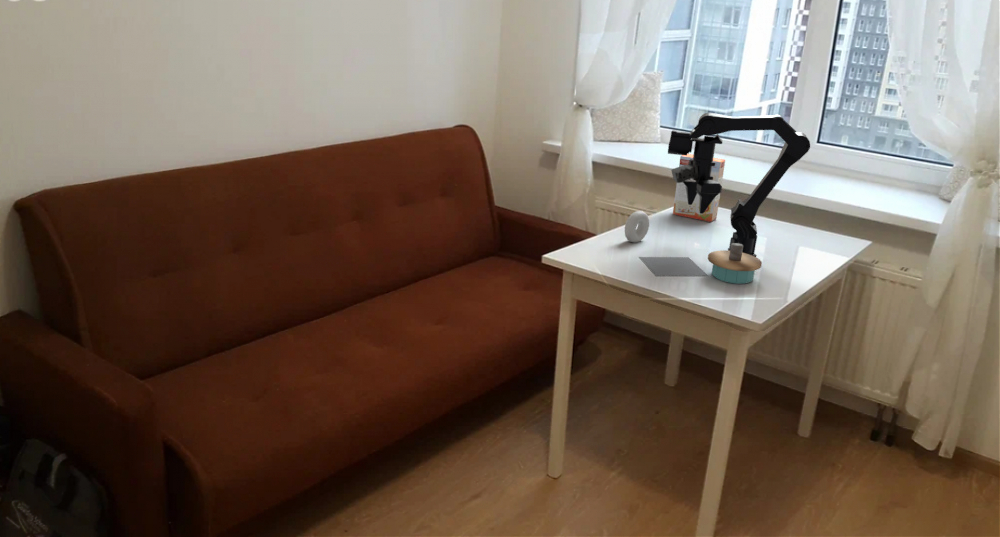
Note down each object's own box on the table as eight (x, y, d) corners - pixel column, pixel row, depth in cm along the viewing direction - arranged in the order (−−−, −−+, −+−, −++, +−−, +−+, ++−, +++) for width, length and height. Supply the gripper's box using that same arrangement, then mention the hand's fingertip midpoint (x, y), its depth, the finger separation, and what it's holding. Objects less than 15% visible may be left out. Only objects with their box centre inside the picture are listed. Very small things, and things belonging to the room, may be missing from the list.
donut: (629, 247, 227) (633, 215, 224) (620, 243, 229) (624, 212, 226) (649, 241, 234) (653, 209, 230) (640, 238, 236) (644, 207, 232)
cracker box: (716, 218, 261) (726, 159, 253) (711, 222, 256) (720, 161, 249) (678, 210, 268) (686, 152, 260) (671, 214, 263) (680, 155, 255)
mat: (688, 258, 220) (688, 257, 220) (708, 277, 206) (708, 276, 206) (638, 258, 218) (638, 256, 217) (655, 277, 204) (655, 276, 204)
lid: (743, 252, 213) (745, 236, 211) (771, 269, 200) (775, 252, 199) (698, 254, 209) (700, 237, 207) (724, 272, 197) (727, 254, 195)
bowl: (741, 271, 212) (744, 255, 211) (759, 286, 202) (762, 268, 201) (705, 271, 211) (708, 255, 209) (721, 286, 201) (724, 268, 199)
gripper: (665, 149, 228) (659, 200, 233) (688, 164, 211) (680, 217, 216) (701, 150, 230) (693, 200, 235) (726, 164, 212) (717, 218, 218)
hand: (695, 208), depth 226 cm, fingers open, 9 cm apart
